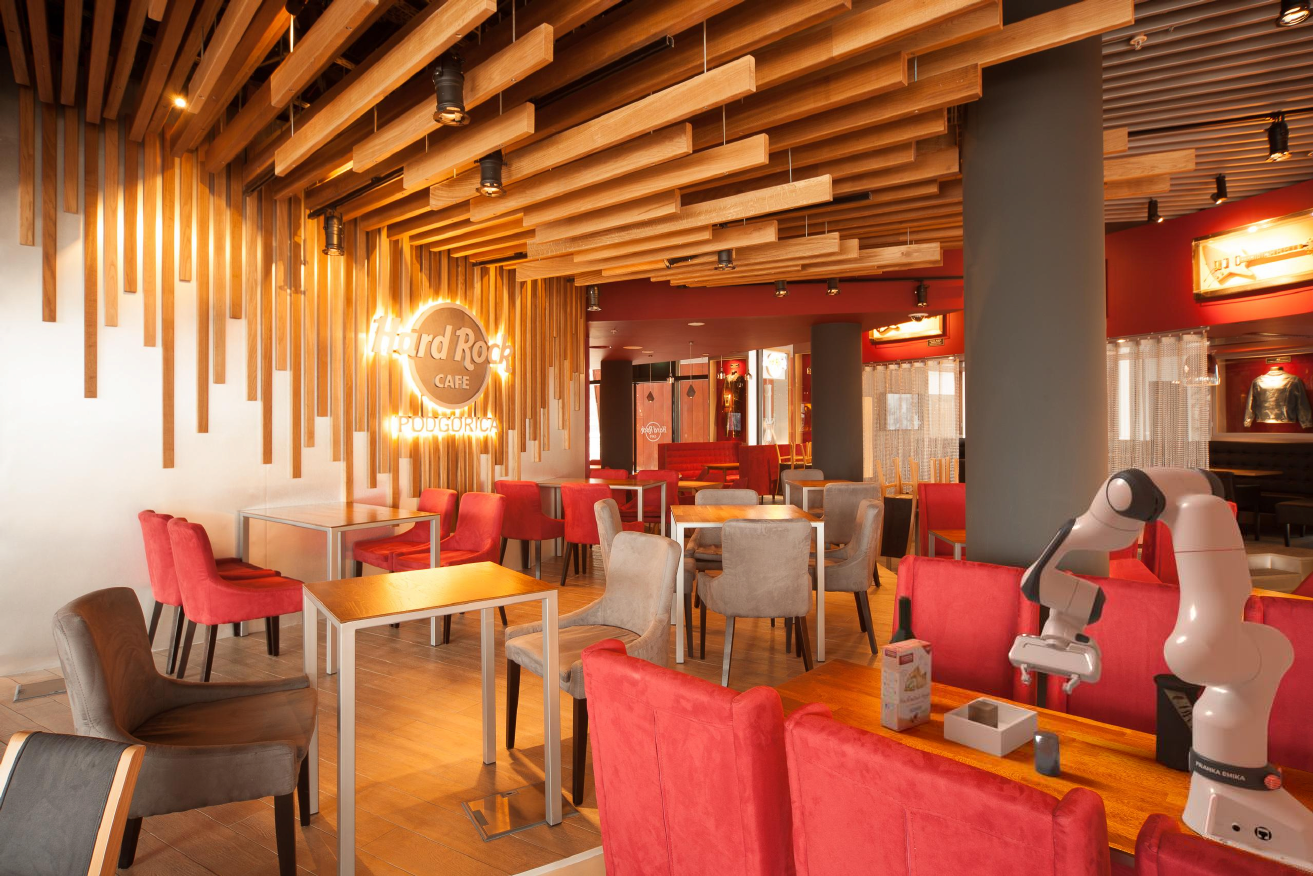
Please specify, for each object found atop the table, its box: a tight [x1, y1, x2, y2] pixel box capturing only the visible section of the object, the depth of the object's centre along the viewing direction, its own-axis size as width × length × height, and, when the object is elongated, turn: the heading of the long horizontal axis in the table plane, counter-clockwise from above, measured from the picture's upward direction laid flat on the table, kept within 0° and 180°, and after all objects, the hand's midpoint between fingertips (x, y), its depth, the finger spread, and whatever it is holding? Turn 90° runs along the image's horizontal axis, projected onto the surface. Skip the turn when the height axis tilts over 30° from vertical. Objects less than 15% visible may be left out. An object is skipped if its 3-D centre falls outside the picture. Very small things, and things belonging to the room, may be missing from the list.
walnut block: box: [968, 700, 998, 729], centre depth 174 cm, size 5×5×8 cm
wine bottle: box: [888, 595, 918, 645], centre depth 202 cm, size 8×8×30 cm
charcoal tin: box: [1033, 730, 1062, 777], centre depth 159 cm, size 5×5×8 cm
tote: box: [943, 696, 1039, 758], centre depth 177 cm, size 14×20×6 cm
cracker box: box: [880, 638, 933, 733], centre depth 186 cm, size 14×6×21 cm, turn 125°
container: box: [1152, 673, 1203, 772], centre depth 163 cm, size 9×9×20 cm
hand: (1045, 687), depth 172 cm, fingers open, 8 cm apart
